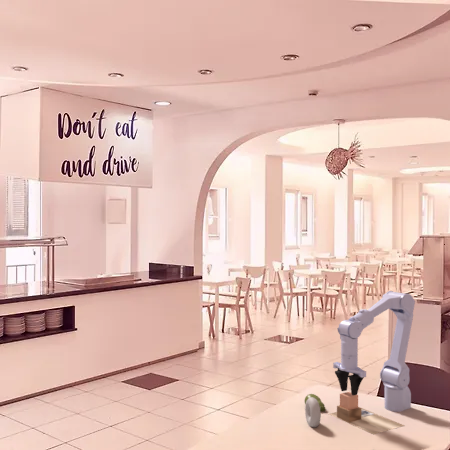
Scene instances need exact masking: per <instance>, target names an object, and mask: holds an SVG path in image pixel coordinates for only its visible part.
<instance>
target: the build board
mask: <svg viewBox="0 0 450 450" xmlns="http://www.w3.org/2000/svg"><path fill="white" fill-rule="evenodd" d="M360 408H361V419H360V420H357V421H353V422H347V421H344V420H342V419H340V418H338V417H337V411H335V412H332V413H331V412H330V413H328V415H329V416H332V417H334V418H336V419H338V420H341V421H342V422H345V423H347V424H349V425H352V426H353V427H356V428H358V429H360V430H362V431H365V432H367V433H369V434H371V435H377V434H381V433H384V432H387V431H391V430H395V429H398V428H401V427H405V425H404V424H402V423H400V422H397V421H394V420H392V419H390V418H387V417H385V416H383V415H380V414H378V413H375V412H372V411H370V410H368V409H366V408H363V407H360Z"/></svg>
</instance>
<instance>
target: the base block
mask: <svg viewBox="0 0 450 450" xmlns="http://www.w3.org/2000/svg"><path fill="white" fill-rule="evenodd" d="M361 408H362V407H360V406H358V408H355V409H351V410H347V409H345V408H343V407H340V404H339V405H337V406H336V412H337V417H338V418H340V419H342V420H344V421H343V422H345V421H347V422H353V421H357V420H360V419H361ZM338 418H337V419H338ZM340 419H339V420H340ZM342 420H341V421H342ZM347 422H346V423H347Z"/></svg>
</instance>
